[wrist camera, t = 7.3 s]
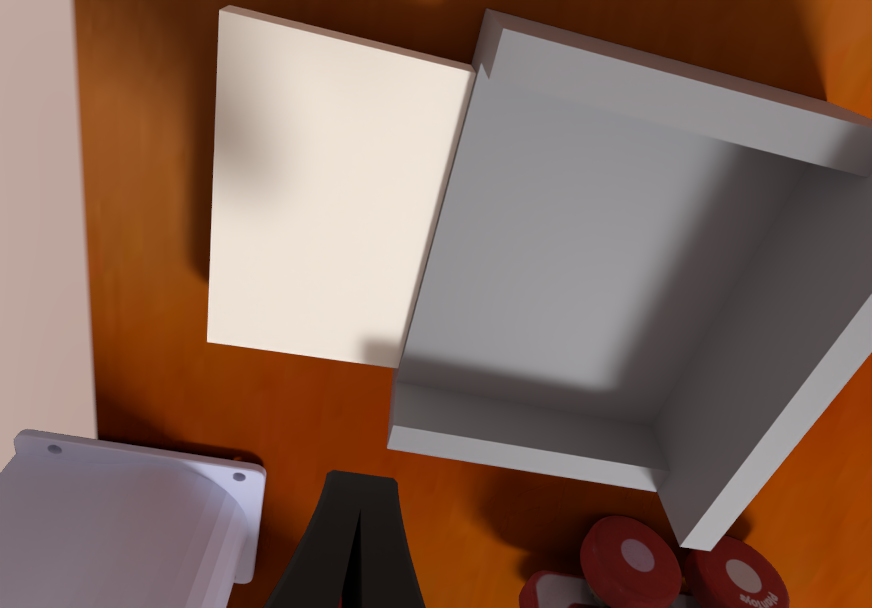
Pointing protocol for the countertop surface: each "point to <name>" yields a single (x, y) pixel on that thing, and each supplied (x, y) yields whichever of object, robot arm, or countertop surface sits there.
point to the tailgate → (325, 186)
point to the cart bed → (637, 274)
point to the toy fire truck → (656, 574)
